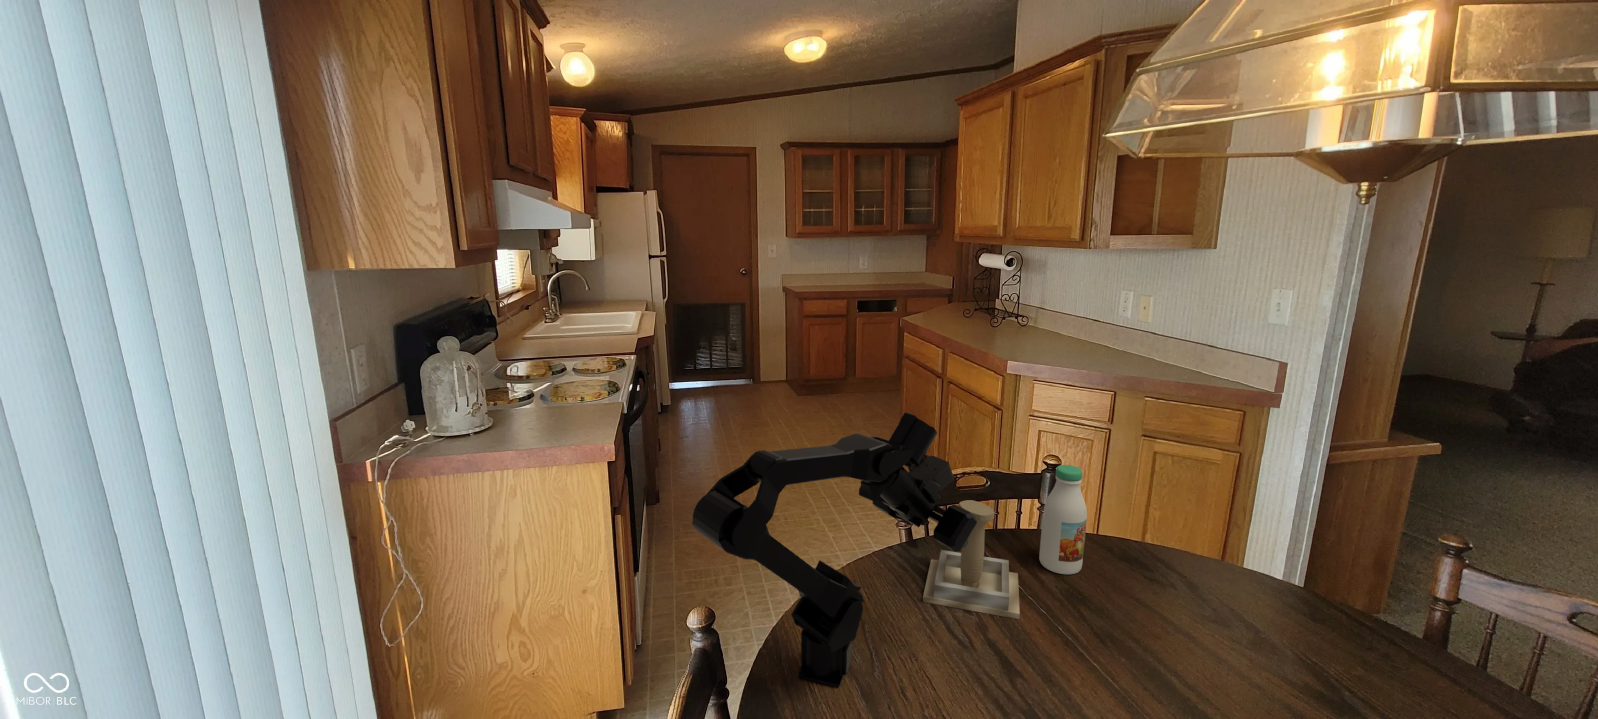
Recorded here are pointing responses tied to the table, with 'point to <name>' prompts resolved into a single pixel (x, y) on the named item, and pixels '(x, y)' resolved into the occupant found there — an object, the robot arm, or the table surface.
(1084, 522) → the milk bottle
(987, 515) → the handle
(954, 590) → the board
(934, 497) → the robot arm
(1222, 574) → the table surface
